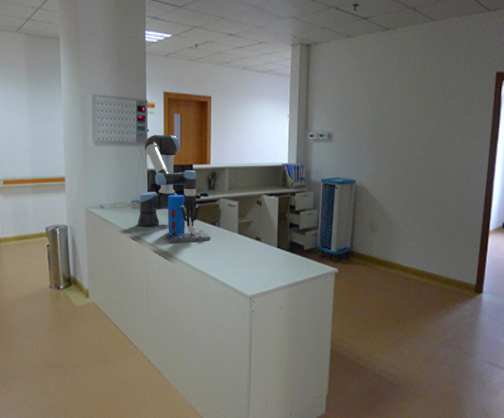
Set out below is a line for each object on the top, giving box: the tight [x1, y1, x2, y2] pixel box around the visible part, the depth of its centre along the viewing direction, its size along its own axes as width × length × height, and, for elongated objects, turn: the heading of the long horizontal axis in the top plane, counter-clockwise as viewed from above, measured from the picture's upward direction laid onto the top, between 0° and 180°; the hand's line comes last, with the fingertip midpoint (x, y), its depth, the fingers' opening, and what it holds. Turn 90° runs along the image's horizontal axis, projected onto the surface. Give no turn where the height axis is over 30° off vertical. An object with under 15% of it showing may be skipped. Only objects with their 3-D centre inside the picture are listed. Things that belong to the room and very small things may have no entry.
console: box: [163, 231, 211, 244], centre depth 254 cm, size 15×26×2 cm, turn 115°
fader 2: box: [198, 228, 206, 237], centre depth 253 cm, size 4×2×4 cm, turn 25°
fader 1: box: [189, 226, 197, 234], centre depth 259 cm, size 4×2×4 cm, turn 25°
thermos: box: [167, 194, 186, 235], centre depth 269 cm, size 11×11×25 cm
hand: (190, 231), depth 258 cm, fingers closed
